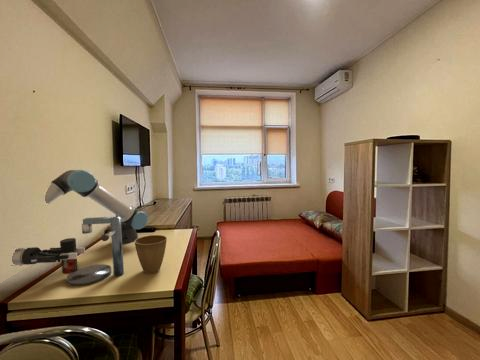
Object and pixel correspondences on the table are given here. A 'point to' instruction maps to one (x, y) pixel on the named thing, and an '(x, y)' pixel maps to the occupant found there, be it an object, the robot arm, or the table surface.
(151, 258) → the plant pot
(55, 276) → the table surface
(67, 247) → the deodorant
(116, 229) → the press
